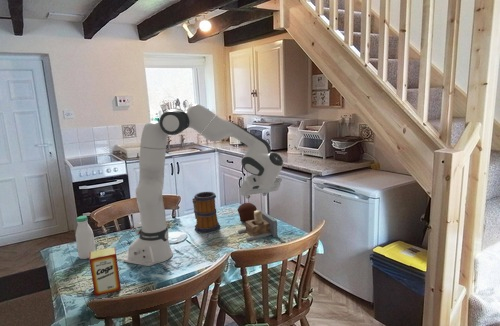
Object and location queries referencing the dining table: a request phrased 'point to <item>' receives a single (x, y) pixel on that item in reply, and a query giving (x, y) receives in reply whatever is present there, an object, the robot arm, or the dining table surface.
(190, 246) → the dining table surface
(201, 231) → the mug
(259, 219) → the dowel
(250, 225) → the socket block
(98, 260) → the baking soda box
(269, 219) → the backstop
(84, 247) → the milk bottle
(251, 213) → the muffin
